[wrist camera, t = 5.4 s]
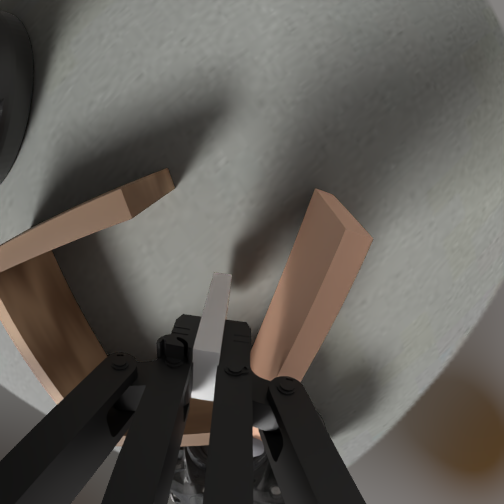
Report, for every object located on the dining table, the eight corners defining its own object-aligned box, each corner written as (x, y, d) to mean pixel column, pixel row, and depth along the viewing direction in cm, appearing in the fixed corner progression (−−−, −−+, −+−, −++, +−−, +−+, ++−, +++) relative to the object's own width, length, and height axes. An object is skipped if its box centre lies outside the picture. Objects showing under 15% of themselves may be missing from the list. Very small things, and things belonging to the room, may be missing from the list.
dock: (29, 228, 18) (-28, 262, 13) (167, 167, 17) (120, 188, 11) (117, 390, 23) (91, 444, 18) (248, 373, 21) (242, 441, 16)
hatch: (311, 186, 16) (342, 229, 9) (345, 199, 16) (396, 250, 10) (242, 362, 21) (232, 453, 14) (270, 370, 21) (269, 460, 14)
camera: (307, 371, 21) (322, 497, 12) (335, 442, 25) (349, 538, 15) (148, 405, 24) (112, 504, 14) (202, 465, 27) (187, 549, 18)
